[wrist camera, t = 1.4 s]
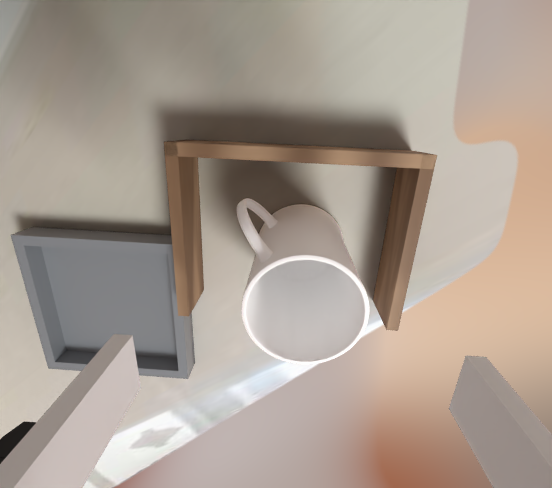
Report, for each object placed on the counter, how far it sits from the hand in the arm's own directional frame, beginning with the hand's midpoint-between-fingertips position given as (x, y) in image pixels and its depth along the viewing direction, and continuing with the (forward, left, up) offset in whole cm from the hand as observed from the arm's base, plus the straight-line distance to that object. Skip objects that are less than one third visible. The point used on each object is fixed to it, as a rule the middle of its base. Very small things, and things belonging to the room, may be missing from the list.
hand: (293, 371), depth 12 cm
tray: (-19, -9, -19) cm, 28 cm away
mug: (0, 0, -19) cm, 19 cm away
